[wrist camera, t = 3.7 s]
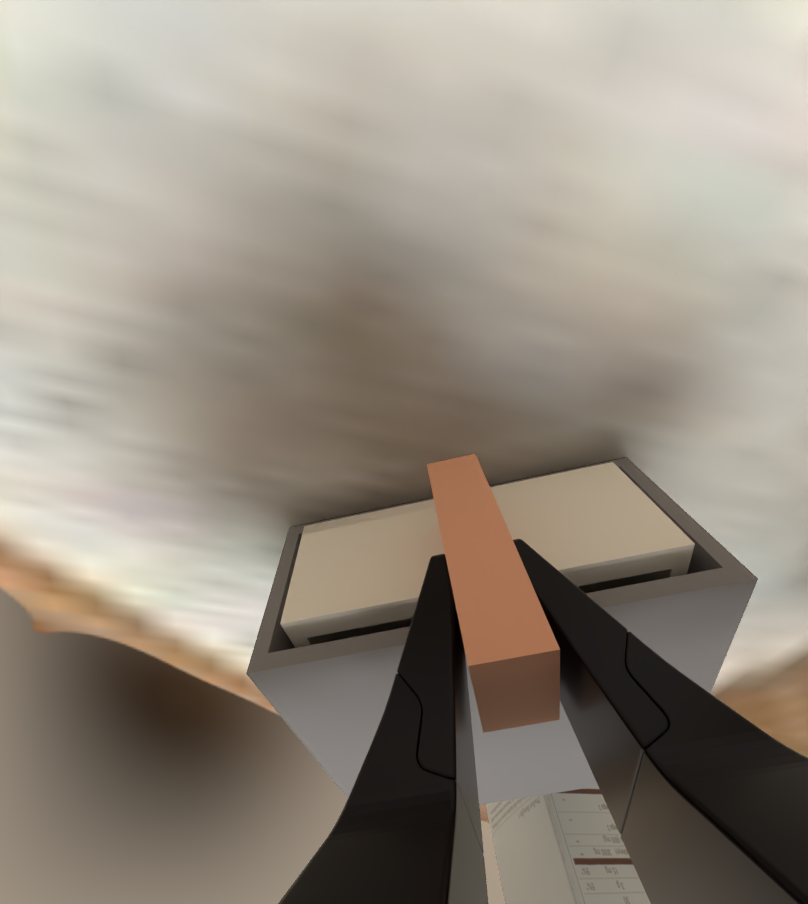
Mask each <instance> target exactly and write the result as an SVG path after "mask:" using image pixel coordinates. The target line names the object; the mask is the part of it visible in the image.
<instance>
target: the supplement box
mask: <svg viewBox="0 0 808 904" xmlns="http://www.w3.org/2000/svg"><path fill="white" fill-rule="evenodd" d="M486 807H487V812H488V818H489V823H490V828H491V833H492V838H493V843H494V849H495V854H496V859H497V865H498V870H499V875H500V880H501V886H502V891H503V896H504V901H505V904H651V903H650V901H649V899H648V896H647V894H646V892H645V890H644V887H643V885H642V883H641V881H640V878H639V876H638V874H637V872H636V870H635V867H634V865H633V863H632V861H631V858H630V856H629V854H628V852H627V849H626V847H625V845H624V843H623V840H622V838H621V834H620V833H619V831H618V829H617V827H616V825H615V822H614V820H613V818H612V816H611V813H610V811H609V809H608V807H607V804H606V802H605V800H604V798H603V795H602V793H601V791H600V789H599V786H596V787H590V788H584V789H577V790H571V791H565V792H558V793H552V794H546V795H539V796H533V797H527V798H520V799H514V800H508V801H501V802H495V803H489V804H486Z"/></svg>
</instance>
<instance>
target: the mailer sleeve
mask: <svg viewBox="0 0 808 904" xmlns="http://www.w3.org/2000/svg"><path fill="white" fill-rule="evenodd" d="M610 462H613V463H614V464H615V465H616V466H617V467H618V468H619V469H620V470H621V471H622V472H623V473H624V474H625V475H626V476H627V477H628V478H629V479H630V480H631V481H632V482H633V483H634V484H635V485H636V486H637V487H638V488H639V489H640V490H641V491H642V492H643V493H644V494H645V495H646V496H647V497H648V498H649V499H650V500H651V501H652V502H653V503H654V504H655V505H656V506H657V507H658V508H659V509H660V510H661V511H662V512H663V513H664V514H665V515H666V516H667V517H669V518H670V519H671V520H672V521H673V522H674V523H675V524H676V525H677V526H678V527H679V528H680V529H681V530H682V531H683V532H684V533H685V534H686V535H687V536H688V537H689V538H690V539H691V540H692V541H693V542H694V543H695V545H694V549H693V553H692V557H691V560H690V564H689V568H688V572H687V574H686V575H681V576H675V577H670V578H665V579H660V580H654V581H649V582H644V583H638V584H633V585H628V586H622V587H617V588H612V589H606V590H601V591H596V592H590V593H585V594H587V595H588V596H589V597H590V598H591V599H592V600H594V601H595V602H596V603H597V604H598V605H600V606H601V607H602V608H603V609H604V610H605V611H607V612H608V613H609V614H610V615H611V616H612V617H614V618H615V619H616V620H617V621H618V622H620V623H621V624H622V625H623V626H624V627H625V628H627V630H628V631H627V633H628V632H629V631H630V632H632V633H633V634H634V635H635V636H636V637H637V638H639V639H640V640H641V641H642V642H643V643H644V644H646V645H647V646H648V647H649V648H651V649H652V650H653V651H654V652H655V653H657V654H658V655H659V656H660V657H662V658H663V659H664V660H665V661H667V662H668V663H669V664H671V665H672V666H673V667H675V668H676V669H677V670H679V671H680V672H681V673H683V674H684V675H685V676H687V677H688V678H689V679H691V680H692V681H694V682H695V683H696V684H698V685H699V686H701V687H702V688H703V689H705V690H706V691H708V692H709V693H710V692H711V690H712V688H713V685H714V683H715V680H716V678H717V676H718V673H719V671H720V669H721V666H722V664H723V661H724V659H725V657H726V654H727V652H728V649H729V647H730V645H731V642H732V640H733V637H734V635H735V633H736V630H737V628H738V625H739V623H740V621H741V618H742V616H743V613H744V611H745V609H746V606H747V604H748V601H749V599H750V597H751V594H752V592H753V589H754V587H755V585H756V582H757V580H758V578H757V577H755V576H754V575H753V574H752V573H751V572H750V571H749V570H748V569H747V568H746V567H745V566H744V565H742V564H741V563H740V562H739V561H738V560H737V559H736V558H735V557H734V556H733V555H732V554H731V553H729V552H728V551H727V550H726V549H725V548H724V547H723V546H722V545H721V544H720V543H719V542H718V541H716V540H715V539H714V538H713V537H712V536H711V535H710V534H709V533H708V532H707V531H706V530H705V529H704V528H702V527H701V526H700V525H699V524H698V523H697V522H696V521H695V520H694V519H693V518H692V517H691V516H689V515H688V514H687V513H686V512H685V511H684V510H683V509H682V508H681V507H680V506H679V505H678V504H676V503H675V502H674V501H673V500H672V499H671V498H670V497H669V496H668V495H667V494H666V493H665V492H663V491H662V490H661V489H660V488H659V487H658V486H657V485H656V484H655V483H654V482H653V481H652V480H650V479H649V478H648V477H647V476H646V475H645V474H644V473H643V472H642V471H641V470H640V469H639V468H637V467H636V466H635V465H634V464H633V463H632V462H631V461H630V460H629V459H628V458H622V459H617V460H613V461H608V462H603V463H598V464H593V465H589V466H584V467H579V468H574V469H569V470H565V471H560V472H555V473H550V474H545V475H541V476H536V477H531V478H526V479H521V480H517V481H512V482H507V483H502V484H497V485H492V486H490V487H495V486H499V485H504V484H509V483H514V482H519V481H523V480H528V479H533V478H538V477H543V476H547V475H552V474H557V473H562V472H567V471H572V470H576V469H581V468H586V467H591V466H596V465H600V464H605V463H610ZM432 499H434V498H430V499H425V500H420V501H416V502H411V503H406V504H401V505H396V506H392V507H387V508H382V509H377V510H372V511H368V512H363V513H358V514H353V515H348V516H344V517H339V518H334V519H329V520H324V521H320V522H315V523H310V524H305V525H300V526H295V527H291V528H289V531H288V534H287V538H286V541H285V545H284V548H283V551H282V555H281V558H280V562H279V565H278V568H277V572H276V575H275V578H274V582H273V585H272V589H271V592H270V595H269V599H268V602H267V606H266V609H265V612H264V616H263V619H262V623H261V626H260V629H259V633H258V636H257V640H256V643H255V646H254V650H253V653H252V656H251V660H250V663H249V667H248V670H247V673H246V674H247V675H248V676H249V677H250V679H251V680H252V681H253V682H254V684H255V685H256V686H257V687H258V689H259V690H260V691H261V692H262V694H263V695H264V696H265V697H266V699H267V700H268V701H269V702H270V703H271V705H272V706H273V707H274V708H275V710H276V711H277V712H278V713H279V715H280V716H281V717H282V718H283V719H284V721H285V722H286V723H287V724H288V726H289V727H290V728H291V729H292V731H293V732H294V733H295V734H296V736H297V737H298V738H299V739H300V741H301V742H302V743H303V744H304V745H305V747H306V748H307V749H308V750H309V752H310V753H311V754H312V755H313V757H314V758H315V759H316V760H317V761H318V763H319V764H320V765H321V766H322V768H323V769H324V770H325V771H326V773H327V774H328V775H329V776H330V778H331V779H332V780H333V781H334V782H335V784H336V785H337V786H338V787H339V789H340V790H341V791H342V792H343V794H344V795H345V796H346V797H347V798H348V797H349V795H350V793H351V790H352V788H353V786H354V783H355V781H356V779H357V776H358V774H359V771H360V769H361V767H362V764H363V762H364V760H365V757H366V755H367V753H368V750H369V748H370V745H371V743H372V741H373V738H374V736H375V733H376V731H377V728H378V726H379V723H380V720H381V718H382V715H383V713H384V710H385V707H386V704H387V701H388V698H389V695H390V692H391V689H392V685H393V682H394V678H395V675H396V674H398V673H397V669H398V665H399V662H400V659H401V655H402V652H403V649H404V645H405V642H406V638H407V635H408V632H409V628H410V627H405V628H399V629H394V630H389V631H383V632H378V633H373V634H367V635H362V636H357V637H351V638H346V639H341V640H336V641H330V642H325V643H320V644H314V645H309V646H304V647H298V648H295V646H294V645H293V643H292V642H291V640H290V639H289V637H288V635H287V634H286V632H285V631H284V629H283V628H282V626H281V624H280V622H281V618H282V614H283V610H284V606H285V602H286V598H287V594H288V590H289V586H290V582H291V578H292V574H293V570H294V565H295V561H296V557H297V553H298V549H299V545H300V541H301V537H302V533H303V529H304V526H307V525H312V524H317V523H321V522H326V521H331V520H336V519H341V518H345V517H350V516H355V515H360V514H365V513H370V512H374V511H379V510H384V509H389V508H394V507H398V506H403V505H408V504H413V503H418V502H422V501H427V500H432ZM465 657H466V653H465ZM466 668H467V679H468V690H469V701H470V711H471V722H472V733H473V744H474V755H475V766H476V777H477V787H478V798H479V805H482V804H489V803H495V802H501V801H508V800H514V799H520V798H527V797H533V796H539V795H546V794H552V793H558V792H565V791H571V790H577V789H584V788H590V787H596V786H598V784H597V782H596V780H595V778H594V775H593V773H592V771H591V769H590V766H589V764H588V762H587V760H586V757H585V755H584V753H583V751H582V748H581V746H580V744H579V742H578V740H577V737H576V735H575V733H574V731H573V728H572V726H571V724H570V722H569V719H568V717H567V715H566V713H565V710H564V708H563V706H562V704H561V701H560V720H556V721H550V722H544V723H538V724H532V725H527V726H521V727H515V728H509V729H503V730H497V731H491V732H485V733H483V729H482V725H481V720H480V716H479V712H478V707H477V703H476V698H475V694H474V690H473V685H472V681H471V677H470V672H469V668H468V663H467V658H466Z"/></svg>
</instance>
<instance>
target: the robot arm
mask: <svg viewBox="0 0 808 904" xmlns="http://www.w3.org/2000/svg"><path fill="white" fill-rule="evenodd" d="M513 542H514V544H515V546H516V549H517V551H518V553H519V556H520V558H521V560H522V562H523V565H524V567H525V569H526V572H527V574H528V576H529V579H530V581H531V583H532V586H533V588H534V590H535V593H536V595H537V597H538V600H539V602H540V604H541V606H542V609H543V611H544V613H545V616H546V618H547V620H548V623H549V625H550V627H551V630H552V632H553V634H554V637H555V639H556V641H557V644H558V646H559V648H560V701H561V704H562V706H563V708H564V710H565V713H566V715H567V717H568V719H569V722H570V724H571V726H572V728H573V731H574V733H575V735H576V737H577V740H578V742H579V744H580V746H581V748H582V751H583V753H584V755H585V757H586V760H587V762H588V764H589V766H590V769H591V771H592V773H593V775H594V778H595V780H596V782H597V784H598V786H599V789H600V791H601V793H602V795H603V798H604V800H605V802H606V804H607V807H608V809H609V811H610V813H611V816H612V818H613V820H614V822H615V825H616V827H617V829H618V831H619V833H620V834H621V838H622V840H623V843H624V845H625V847H626V849H627V852H628V854H629V856H630V858H631V861H632V863H633V865H634V867H635V870H636V872H637V874H638V876H639V878H640V881H641V883H642V885H643V887H644V890H645V892H646V894H647V896H648V899H649V901H650V903H651V904H808V758H807V757H805V756H803V755H801V754H799V753H798V752H796V751H794V750H792V749H790V748H789V747H787V746H785V745H784V744H782V743H780V742H779V741H777V740H776V739H774V738H772V737H771V736H770V735H768V734H767V733H765V732H764V731H762V730H761V729H759V728H758V727H757V726H755V725H754V724H752V723H751V722H750V721H748V720H747V719H745V718H744V717H743V716H741V715H740V714H738V713H737V712H736V711H734V710H733V709H731V708H730V707H729V706H727V705H726V704H724V703H723V702H722V701H720V700H719V699H717V698H716V697H715V696H713V695H712V694H710V693H709V692H708V691H706V690H705V689H703V688H702V687H701V686H699V685H698V684H696V683H695V682H694V681H692V680H691V679H689V678H688V677H687V676H685V675H684V674H683V673H681V672H680V671H679V670H677V669H676V668H675V667H673V666H672V665H671V664H669V663H668V662H667V661H665V660H664V659H663V658H662V657H660V656H659V655H658V654H657V653H655V652H654V651H653V650H652V649H651V648H649V647H648V646H647V645H646V644H644V643H643V642H642V641H641V640H640V639H639V638H637V637H636V636H635V635H634V634H633V633H632V632H630V631H629V632H628V633H627V631H628V630H627V628H625V627H624V626H623V625H622V624H621V623H620V622H618V621H617V620H616V619H615V618H614V617H612V616H611V615H610V614H609V613H608V612H607V611H605V610H604V609H603V608H602V607H601V606H600V605H598V604H597V603H596V602H595V601H594V600H592V599H591V598H590V597H589V596H588V595H587V594H585V593H584V592H583V591H582V590H581V589H580V588H578V587H577V586H576V585H575V584H574V583H572V582H571V581H570V580H569V579H568V578H567V577H565V576H564V575H563V574H562V573H561V572H560V571H558V570H557V569H556V568H555V567H554V566H552V565H551V564H550V563H549V562H548V561H547V560H545V559H544V558H543V557H542V556H541V555H539V554H538V553H537V552H536V551H535V550H534V549H532V548H531V547H530V546H529V545H528V544H527V543H525V542H524V541H523V540H522V539H514V540H513ZM397 673H398V674H396V675H395V678H394V682H393V685H392V689H391V692H390V695H389V698H388V701H387V704H386V707H385V710H384V713H383V715H382V718H381V720H380V723H379V726H378V728H377V731H376V733H375V736H374V738H373V741H372V743H371V745H370V748H369V750H368V753H367V755H366V757H365V760H364V762H363V764H362V767H361V769H360V771H359V774H358V776H357V779H356V781H355V783H354V786H353V788H352V790H351V793H350V795H349V797H348V800H347V802H346V804H345V807H344V809H343V811H342V813H341V815H340V817H339V819H338V821H337V822H336V824H335V826H334V828H333V829H332V831H331V833H330V834H329V836H328V837H327V839H326V840H325V842H324V843H323V844H322V846H321V847H320V848H319V850H318V851H317V852H316V854H315V855H314V856H313V858H312V859H311V860H310V862H309V863H308V865H307V866H306V867H305V869H304V870H303V871H302V873H301V874H300V875H299V877H298V878H297V879H296V881H295V882H294V883H293V885H292V886H291V887H290V889H289V890H288V891H287V893H286V894H285V895H284V897H283V898H282V899H281V901H280V902H279V904H488V896H487V884H486V874H485V863H484V856H483V842H482V831H481V820H480V809H479V798H478V787H477V777H476V766H475V755H474V744H473V733H472V722H471V711H470V701H469V690H468V679H467V668H466V657H465V648H464V644H463V639H462V634H461V629H460V624H459V619H458V614H457V610H456V605H455V600H454V595H453V590H452V585H451V580H450V576H449V571H448V566H447V561H446V556H445V554H439V555H434V556H432V557H431V558H430V561H429V564H428V568H427V571H426V574H425V578H424V581H423V584H422V588H421V591H420V595H419V598H418V601H417V605H416V608H415V611H414V615H413V618H412V622H411V625H410V628H409V632H408V635H407V638H406V642H405V645H404V649H403V652H402V655H401V659H400V662H399V665H398V669H397Z"/></svg>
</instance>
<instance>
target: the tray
mask: <svg viewBox="0 0 808 904" xmlns="http://www.w3.org/2000/svg"><path fill="white" fill-rule="evenodd" d="M427 469H428V473H429V478H430V483H431V488H432V493H433V498H434V499H432V500H427V501H422V502H418V503H413V504H408V505H403V506H398V507H394V508H389V509H384V510H379V511H374V512H370V513H365V514H360V515H355V516H350V517H345V518H341V519H336V520H331V521H326V522H321V523H317V524H312V525H307V526H304V529H303V533H302V537H301V541H300V545H299V549H298V553H297V557H296V561H295V565H294V570H293V574H292V578H291V582H290V586H289V590H288V594H287V598H286V602H285V606H284V610H283V614H282V618H281V622H280V624H281V626H282V628H283V629H284V631H285V632H286V634H287V635H288V637H289V639H290V640H291V642H292V643H293V645H294V646H295V648H298V647H304V646H309V645H314V644H320V643H325V642H330V641H336V640H341V639H346V638H351V637H357V636H362V635H367V634H373V633H378V632H383V631H389V630H394V629H399V628H405V627H410V625H411V622H412V618H413V615H414V611H415V608H416V605H417V601H418V598H419V595H420V591H421V588H422V584H423V581H424V578H425V574H426V571H427V568H428V564H429V561H430V558H431V557H432V556H434V555H439V554H445V556H446V561H447V566H448V571H449V576H450V580H451V585H452V590H453V595H454V600H455V605H456V610H457V614H458V619H459V624H460V629H461V634H462V639H463V644H464V648H465V653H466V658H467V663H468V668H469V672H470V677H471V681H472V685H473V690H474V694H475V698H476V703H477V707H478V712H479V716H480V720H481V725H482V729H483V733H485V732H491V731H497V730H503V729H509V728H515V727H521V726H527V725H532V724H538V723H544V722H550V721H556V720H560V648H559V646H558V644H557V641H556V639H555V637H554V634H553V632H552V630H551V627H550V625H549V623H548V620H547V618H546V616H545V613H544V611H543V609H542V606H541V604H540V602H539V600H538V597H537V595H536V593H535V590H534V588H533V586H532V583H531V581H530V579H529V576H528V574H527V572H526V569H525V567H524V565H523V562H522V560H521V558H520V556H519V553H518V551H517V549H516V546H515V544H514V542H513V540H514V539H522V540H523V541H524V542H525V543H527V544H528V545H529V546H530V547H531V548H532V549H534V550H535V551H536V552H537V553H538V554H539V555H541V556H542V557H543V558H544V559H545V560H547V561H548V562H549V563H550V564H551V565H552V566H554V567H555V568H556V569H557V570H558V571H560V572H561V573H562V574H563V575H564V576H565V577H567V578H568V579H569V580H570V581H571V582H572V583H574V584H575V585H576V586H577V587H578V588H580V589H581V590H582V591H583V592H584V593H590V592H596V591H601V590H606V589H612V588H617V587H622V586H628V585H633V584H638V583H644V582H649V581H654V580H660V579H665V578H670V577H675V576H681V575H686V574H687V572H688V568H689V564H690V560H691V557H692V553H693V549H694V545H695V543H694V542H693V541H692V540H691V539H690V538H689V537H688V536H687V535H686V534H685V533H684V532H683V531H682V530H681V529H680V528H679V527H678V526H677V525H676V524H675V523H674V522H673V521H672V520H671V519H670V518H669V517H667V516H666V515H665V514H664V513H663V512H662V511H661V510H660V509H659V508H658V507H657V506H656V505H655V504H654V503H653V502H652V501H651V500H650V499H649V498H648V497H647V496H646V495H645V494H644V493H643V492H642V491H641V490H640V489H639V488H638V487H637V486H636V485H635V484H634V483H633V482H632V481H631V480H630V479H629V478H628V477H627V476H626V475H625V474H624V473H623V472H622V471H621V470H620V469H619V468H618V467H617V466H616V465H615V464H614V463H613V462H610V463H605V464H600V465H596V466H591V467H586V468H581V469H576V470H572V471H567V472H562V473H557V474H552V475H547V476H543V477H538V478H533V479H528V480H523V481H519V482H514V483H509V484H504V485H499V486H495V487H490V486H489V484H488V481H487V479H486V477H485V474H484V472H483V470H482V468H481V465H480V463H479V461H478V458H477V456H476V454H471V455H467V456H462V457H457V458H453V459H448V460H443V461H439V462H434V463H429V464H427Z"/></svg>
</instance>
